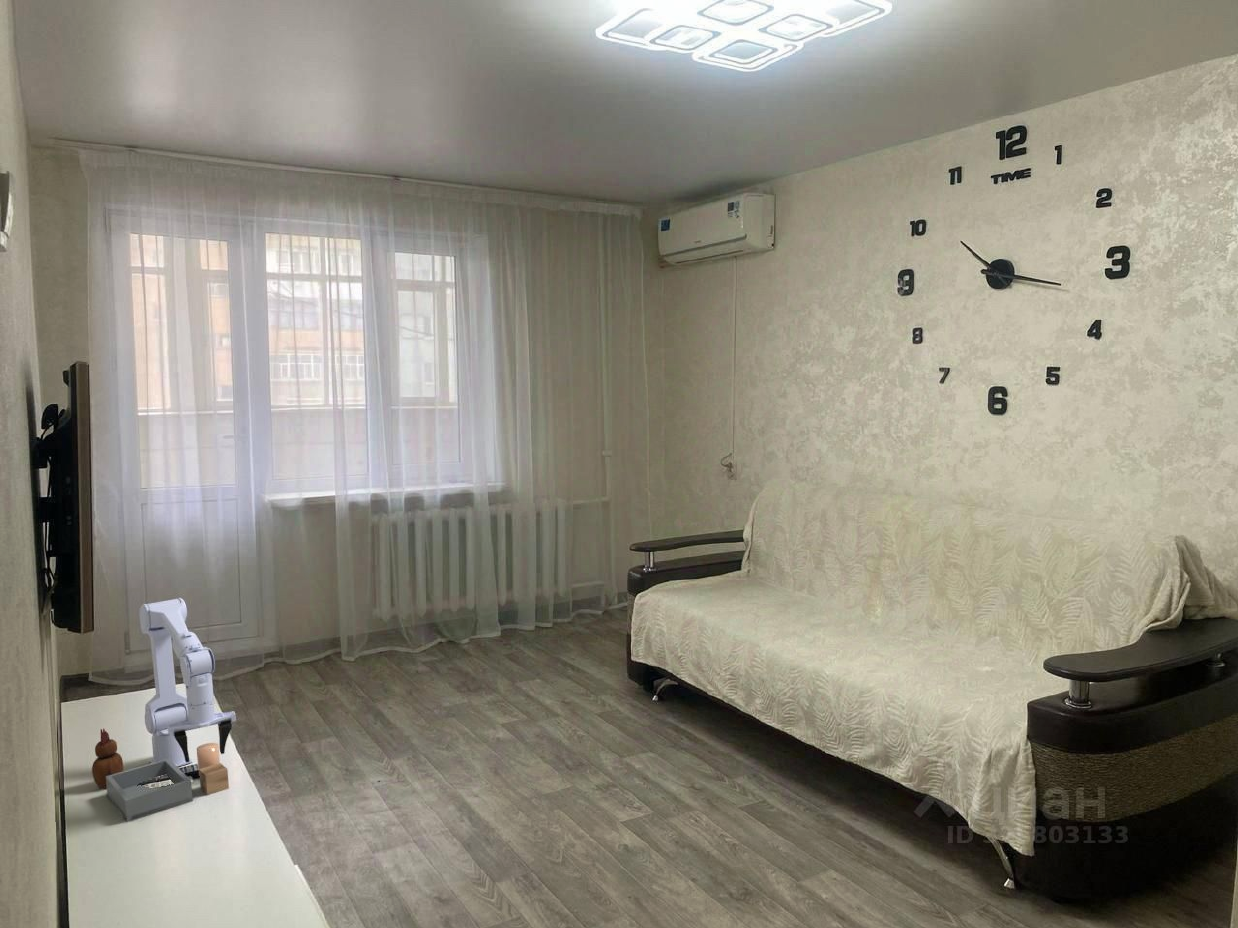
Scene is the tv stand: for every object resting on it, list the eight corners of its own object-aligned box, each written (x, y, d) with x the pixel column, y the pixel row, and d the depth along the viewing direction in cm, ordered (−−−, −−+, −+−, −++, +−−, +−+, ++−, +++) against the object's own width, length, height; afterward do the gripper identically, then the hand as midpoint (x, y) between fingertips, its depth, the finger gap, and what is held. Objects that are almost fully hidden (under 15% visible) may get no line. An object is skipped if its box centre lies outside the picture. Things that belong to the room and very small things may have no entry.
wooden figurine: (109, 791, 218) (103, 732, 216) (88, 789, 219) (83, 730, 217) (129, 779, 224) (124, 721, 223) (109, 777, 225) (104, 720, 224)
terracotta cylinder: (196, 773, 226) (193, 747, 225) (216, 767, 229) (214, 741, 229) (202, 779, 222) (200, 752, 222) (223, 773, 226) (221, 746, 225)
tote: (107, 796, 215) (105, 776, 214) (169, 777, 224) (168, 758, 224) (127, 821, 202) (125, 800, 201) (192, 800, 211) (190, 780, 211)
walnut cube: (200, 788, 217) (199, 769, 217) (221, 782, 221) (220, 762, 220) (207, 795, 214) (205, 775, 213) (228, 788, 217) (227, 768, 217)
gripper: (168, 713, 203) (173, 770, 205) (236, 699, 211) (240, 754, 213) (164, 704, 209) (169, 759, 211) (231, 690, 217) (235, 744, 218)
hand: (204, 756), depth 212 cm, fingers open, 7 cm apart
